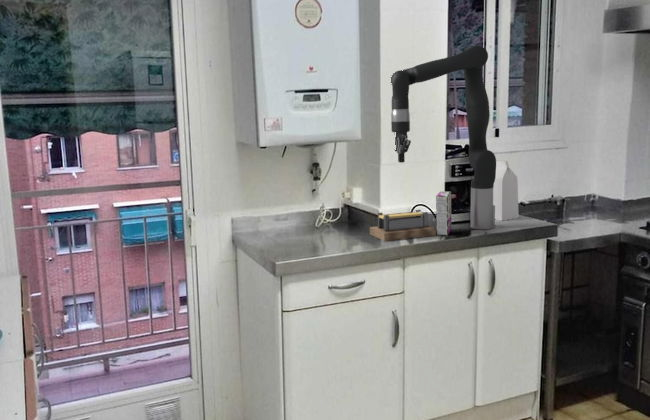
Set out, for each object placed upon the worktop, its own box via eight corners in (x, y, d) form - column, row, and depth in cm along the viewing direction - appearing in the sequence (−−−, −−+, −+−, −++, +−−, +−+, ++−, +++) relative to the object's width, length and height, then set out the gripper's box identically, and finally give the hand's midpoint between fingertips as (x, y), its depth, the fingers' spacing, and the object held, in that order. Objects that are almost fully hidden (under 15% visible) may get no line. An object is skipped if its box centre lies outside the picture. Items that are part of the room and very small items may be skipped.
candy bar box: (439, 229, 257) (439, 191, 254) (451, 230, 255) (451, 191, 252) (435, 235, 246) (435, 195, 243) (447, 235, 245) (448, 195, 242)
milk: (481, 217, 280) (481, 161, 275) (497, 214, 286) (498, 159, 282) (501, 221, 270) (503, 162, 266) (518, 217, 277) (520, 160, 272)
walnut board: (419, 228, 259) (419, 221, 258) (435, 235, 246) (435, 227, 245) (369, 234, 251) (369, 227, 251) (384, 241, 238) (384, 233, 238)
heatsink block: (419, 223, 255) (419, 208, 254) (428, 227, 248) (428, 211, 247) (377, 228, 249) (377, 212, 248) (386, 231, 241) (385, 215, 240)
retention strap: (421, 214, 253) (421, 210, 252) (425, 216, 249) (425, 212, 249) (379, 218, 246) (379, 214, 246) (383, 220, 242) (383, 216, 242)
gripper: (416, 120, 244) (417, 162, 247) (400, 119, 257) (401, 160, 260) (400, 121, 242) (400, 164, 245) (385, 120, 254) (386, 161, 257)
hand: (401, 162), depth 252 cm, fingers closed
